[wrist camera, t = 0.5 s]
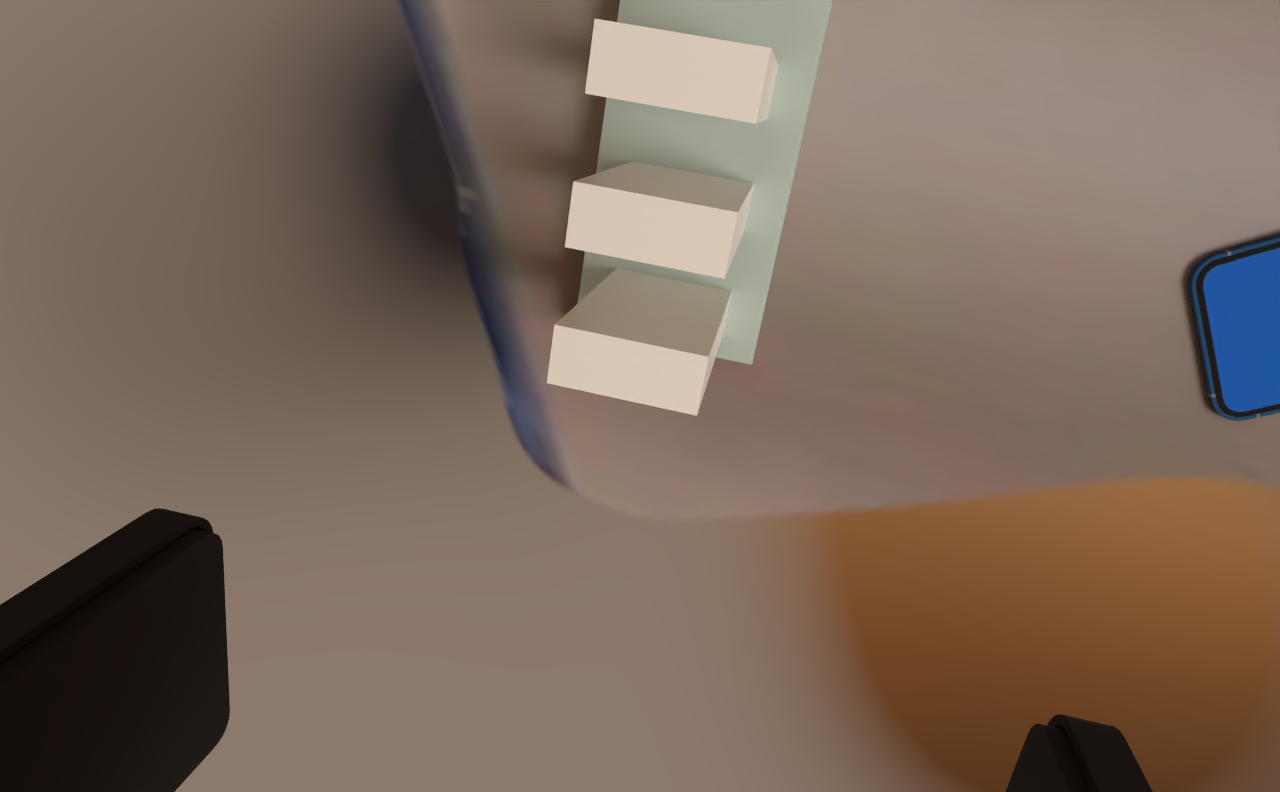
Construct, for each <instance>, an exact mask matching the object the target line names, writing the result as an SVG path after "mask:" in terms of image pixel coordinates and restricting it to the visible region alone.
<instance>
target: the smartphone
mask: <svg viewBox="0 0 1280 792" xmlns="http://www.w3.org/2000/svg"><path fill="white" fill-rule="evenodd" d="M1269 244H1270V245H1269ZM1262 246H1263V247H1262ZM1255 248H1256V249H1255ZM1244 251H1245V252H1244ZM1241 252H1242V253H1241ZM1237 253H1238V254H1237ZM1234 254H1235V255H1234ZM1230 255H1231V256H1230ZM1226 256H1228V257H1226ZM1223 257H1224V258H1223ZM1220 258H1221V259H1220ZM1217 259H1218V260H1217ZM1196 287H1197V288H1196ZM1188 288H1189V295H1190V298H1191V303H1192V305H1191V306H1192V308H1193V310H1192V311H1193V313H1194V314H1193V316H1194V318H1195V319H1194V321H1195V323H1196V324H1195V328H1196V333H1197V337H1198V338H1199V343H1200V348H1201V354H1200V355H1201V361H1202V366H1203V368H1204V370H1203V371H1204V372H1205V374H1204V376H1205V377H1206V378H1205V380H1206V382H1207V383H1206V388H1207V393H1208V399H1209V402H1210V404H1211V406H1212V408H1213V409H1214V410H1215V411H1216V412H1217V413H1218V414H1220V415H1221V416H1223V417H1224V418H1227V419H1230V420H1235V421H1241V420H1248V419H1253V418H1257V417H1262V416H1266V415H1270V414H1275V413H1279V412H1280V235H1276V236H1273V237H1269V238H1266V239H1262V240H1259V241H1255V242H1252V243H1248V244H1245V245H1241V246H1238V247H1234V248H1231V249H1227V250H1224V251H1220V252H1217V253H1214V254H1211V255H1209V256H1207V257H1205V258H1204V259H1202V260H1201V261H1200V262H1199V263H1197V264H1196V266H1195V267H1194V268H1193V270H1192V272H1191V274H1190V276H1189V281H1188ZM1244 416H1245V417H1244Z"/></svg>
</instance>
